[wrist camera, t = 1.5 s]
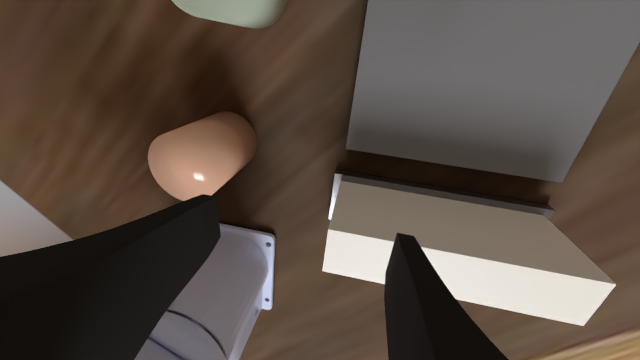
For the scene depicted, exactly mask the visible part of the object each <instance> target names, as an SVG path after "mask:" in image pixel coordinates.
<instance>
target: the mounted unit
mask: <svg viewBox="0 0 640 360" xmlns="http://www.w3.org/2000/svg"><path fill="white" fill-rule="evenodd" d="M554 212H555V210H554V209H553V208H552V207H550V206H549V205H547V204H541V203H535V202H529V201H523V200H517V199H511V198H505V197H499V196H493V195H487V194H481V193H475V192H469V191H463V190H457V189H451V188H445V187H439V186H433V185H427V184H421V183H415V182H409V181H403V180H397V179H391V178H385V177H379V176H373V175H367V174H361V173H355V172H349V171H343V170H337V169H336V172H335V176H334V183H333V191H332V198H331V205H330V212H329V219H331V221H330V225H329V229H328V235H327V242H326V249H325V256H324V263H323V270H322V271H325V272H329V273H334V274H339V275H344V276H348V277H353V278H358V279H363V280H367V281H372V282H377V283H382V284H385V273H386V269H387V266H388V262H389V259H390V255H391V252H392V248H393V245H394V241H395V238H396V234H397V233H402V234H407V235H412V236H414V237H415V238H416V240H417V241H418V243H419V245H420V246H421V248H422V250H423V251H424V253H425V255H426V256H427V258H428V259H429V261H430V263H431V264H432V266H433V267H434V269H435V270H436V272H437V273H438V275H439V276H440V278H441V279H442V281H443V282H444V284H445V285H446V287H447V288H448V289H449V291H450V292H451V294H452V295H453V296H454V298H455V299H458V300H462V301H467V302H472V303H477V304H481V305H486V306H491V307H496V308H500V309H505V310H510V311H515V312H519V313H524V314H529V315H534V316H538V317H543V318H548V319H553V320H557V321H562V322H567V323H572V324H576V325H581V326H584V325H585V323H586V322H587V321H588V320H589V318H590V317H591V316H592V315H593V313H594V312H595V311H596V310H597V308H598V307H599V306H600V305H601V303H602V302H603V301H604V300H605V298H606V297H607V296H608V294H609V293H610V292H611V291H612V289H613V288H614V287H615V286H616V284H615V283H614V282H613V281H612V280H611V279H610V278H609V277H608V276H607V275H606V274H605V273H604V272H603V271H602V270H601V269H600V268H598V267H597V266H596V265H595V264H594V263H593V262H592V261H591V260H590V259H589V258H588V257H587V256H586V255H585V254H584V253H583V252H582V251H581V250H580V249H578V248H577V247H576V246H575V245H574V244H573V243H572V242H571V241H570V240H569V239H568V238H567V237H566V236H565V235H564V234H563V233H562V232H561V231H560V230H558V229H557V228H556V227H555V226H554V225H553V224H552V223H551V222H550V221H549V220H550V219H551V217H552V215H553V213H554Z"/></svg>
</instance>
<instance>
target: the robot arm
mask: <svg viewBox="0 0 640 360" xmlns="http://www.w3.org/2000/svg"><path fill="white" fill-rule="evenodd" d="M267 242H269V243H271V244H268V243H267ZM274 258H275V236H274V235H273V234H271V233H266V232H261V231H256V230H251V229H246V228H241V227H236V226H231V225H226V224H221V223H219V213H218V202H217V197H215V196H210V195H205V194H202V195H199V196H196V197H193V198H191V199H188V200H185V201H183V202H180V203H178V204H175V205H173V206H171V207H168V208H166V209H163V210H161V211H158V212H156V213H153V214H151V215H148V216H146V217H143V218H140V219H137V220H135V221H132V222H129V223H127V224H124V225H121V226H118V227H116V228H113V229H110V230H107V231H103V232H100V233H97V234H94V235H90V236H87V237H84V238H80V239H77V240H73V241H69V242H65V243H61V244H57V245H53V246H49V247H45V248H41V249H37V250H32V251H28V252H23V253H18V254H13V255H8V256H3V257H0V360H239V358H240V356H241V354H242V351H243V349H244V347H245V345H246V342H247V340H248V338H249V335H250V333H251V331H252V329H253V326H254V324H255V322H256V320H257V317H258V315H259V313H260V310H261V308H262V309H266V310H270V309H271V308H272V305H273V284H274ZM384 301H385V316H386V330H387V343H388V357H389V360H508V359H507V358H506V357H505V356H504V355H503V354H502V353H501V352H500V350H499V349H498V348H497V347H496V346H495V345H494V344H493V343H492V342H491V341H490V340H489V339H488V338H487V336H486V335H485V334H484V333H483V332H482V331H481V329H480V328H479V327H478V326H477V325H476V324H475V323H474V321H473V320H472V319H471V318H470V317H469V316H468V314H467V313H466V312H465V311H464V309H463V308H462V307H461V306H460V304H459V303H458V302H457V300H456V299H455V298H454V296H453V295H452V294H451V292H450V291H449V289H448V288H447V287H446V285H445V284H444V282H443V281H442V279H441V278H440V276H439V275H438V273H437V272H436V270H435V269H434V267H433V266H432V264H431V263H430V261H429V259H428V258H427V256H426V255H425V253H424V251H423V250H422V248H421V246H420V245H419V243H418V241H417V240H416V238H415V237H414V236H412V235H407V234H402V233H397V234H396V238H395V241H394V245H393V248H392V252H391V255H390V259H389V262H388V266H387V269H386V273H385V294H384Z"/></svg>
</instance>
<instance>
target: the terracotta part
mask: <svg viewBox="0 0 640 360" xmlns="http://www.w3.org/2000/svg"><path fill="white" fill-rule="evenodd" d="M256 151H257V137H256V134H255V131H254V129H253V128H252V126H251V125H250V123H249V122H248V121H247V120H246V119H245V118H243V117H242V116H240V115H238V114H236V113H234V112H229V111H222V112H218V113H216V114H213V115H210V116H208V117H205V118H203V119H200V120H198V121H195V122H193V123H190V124H187V125H185V126H182V127H180V128H177V129H175V130H172V131H170V132H167V133H165V134H162V135H160V136H158V137H157V138H156V139H154V141H153V142H152V143H151V145H150V148H149V151H148V163H149V167H150V170H151V173H152V175H153V177H154V178H155V180H156V181H157V183H158V184H159V185H160V186H161V187H162V188H163V189H164V190H165V191H166V192H167V193H169V194H170V195H172V196H173V197H175V198H177V199H180V200H183V201H185V200H188V199H191V198H193V197H196V196H199V195H202V194H205V195H210V196H212V195H213V194H214V193H215V192H216V191H217V190H218V189H219V188H220V187H222V186H223V185H224V184H225V183H226V182H227V181H228V180H229V179H231V178H232V177H233V176H234V175H235V174H236V173H237V172H238V171H240V170H241V169H242V168H243V167H244V166H245V165H246V164H247V163H248V162H250V161H251V160H252V159H253V157H254V156H255V154H256Z"/></svg>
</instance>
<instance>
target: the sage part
mask: <svg viewBox="0 0 640 360" xmlns="http://www.w3.org/2000/svg"><path fill="white" fill-rule="evenodd" d="M172 2H173V3H174V4H175V5H177V6H178V7H179V8H180V9H182V10H183V11H184V12H186V13H188V14H190V15H192V16H195V17H199V18H204V19H209V20H214V21H218V22H223V23H228V24H233V25H238V26H243V27H248V28H253V29H263V28H267V27H269V26H271V25H273V24H274V23H275V22H277V21H278V20H279V18H280V17H281V16H282V14H283V13H284V11H285V9H286V6H287V3H288V0H172Z"/></svg>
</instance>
